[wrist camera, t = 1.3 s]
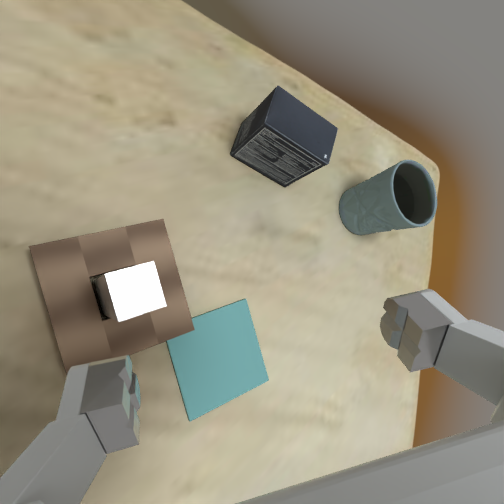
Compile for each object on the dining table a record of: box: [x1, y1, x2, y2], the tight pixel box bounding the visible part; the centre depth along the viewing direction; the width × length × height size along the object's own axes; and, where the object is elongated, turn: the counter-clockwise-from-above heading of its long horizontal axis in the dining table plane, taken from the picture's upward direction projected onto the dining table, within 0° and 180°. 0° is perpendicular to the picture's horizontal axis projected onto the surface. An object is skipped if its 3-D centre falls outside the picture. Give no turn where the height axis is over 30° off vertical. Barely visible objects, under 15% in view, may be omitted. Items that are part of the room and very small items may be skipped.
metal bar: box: [94, 261, 166, 322], centre depth 34 cm, size 4×4×14 cm
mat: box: [166, 299, 269, 421], centre depth 45 cm, size 12×12×1 cm
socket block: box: [29, 219, 195, 374], centre depth 39 cm, size 14×14×3 cm
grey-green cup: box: [339, 160, 437, 235], centre depth 56 cm, size 10×10×12 cm
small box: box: [230, 86, 338, 187], centre depth 48 cm, size 11×6×10 cm, turn 70°
